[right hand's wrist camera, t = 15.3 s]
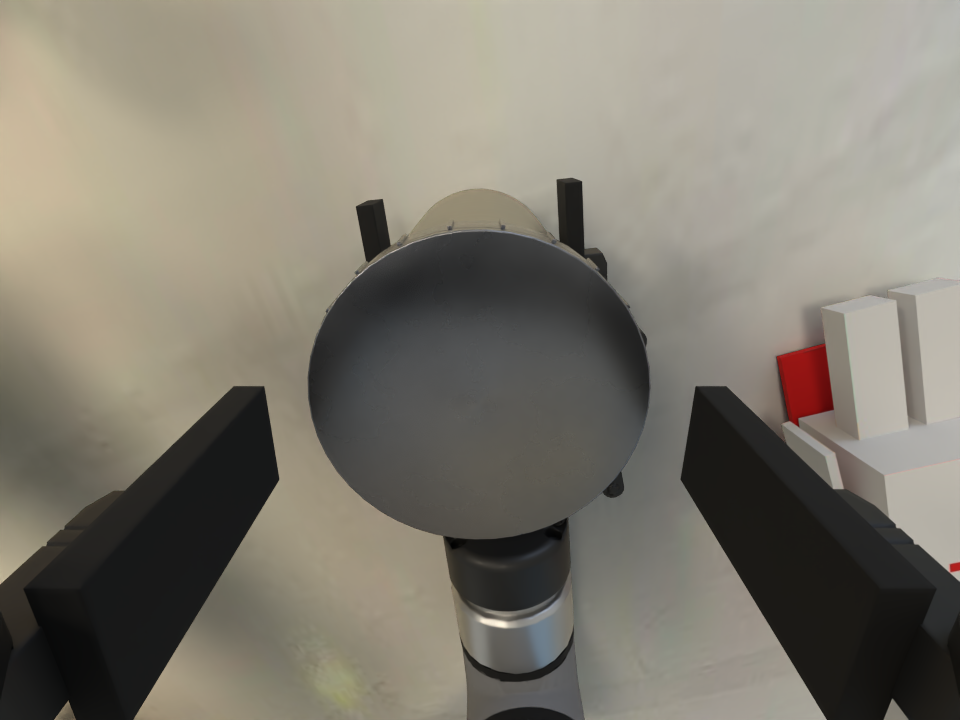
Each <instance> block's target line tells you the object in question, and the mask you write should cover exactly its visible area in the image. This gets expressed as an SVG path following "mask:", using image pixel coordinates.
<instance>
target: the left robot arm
mask: <svg viewBox="0 0 960 720" xmlns="http://www.w3.org/2000/svg"><path fill="white" fill-rule="evenodd" d="M557 197H558V217H559V237H560V242H562V243H563V244H565V245H567V246H569V247H570V248H571V249H573V250H574V251H575V252H577V253H578V254H579V255H581V256H582V257H583V258H585V259H587V258H589V259H590V260H591V261H592V262H593V263H594V264H595V265H596V266H597V267H598V268H599V269H600V270H599V271H598V272H599V273H600V274H601V275H602V276H603V277H604V278H605V279H606V281H607V262H606V260H605V258H604V256H603V253H602V252H601V251H599V250H598V249H597V248H590V249H584V226H583V196H582V181H580V180H577V179H574V178H566V179H557ZM356 210H357V215H358V220H359V226H360V231H361V236H362V242H363V247H364V252H365V258H366V261H367V262H368V263H369V262H370V261H372V260H373V259H374V258H375V257H376V256H377V255H378V254H380V253H381V252H382V251H384V250H385V249H387V248H389V247H390V246H391V245H390V239H389V233H388V227H387V221H386V215H385V209H384V203H383V199H378V200H369V201H366V202H364V203H362V204H360V205H358V206H356ZM639 330H640V328H639ZM640 333H641V336H642V339H643V341H644V344H645V347H646V344H647V338H646V336H645V334H644V333H643V332H642V331H641V330H640ZM623 490H624V484H623V479H622V473H621V471H620V473H619V474H618V476H617V477H616V478H615V479H614V480H613V481H612V483H611V484H610V485H609V486H608V487H607V488H606V489H605V490H604V491H603V493H604V495H606V496H607V497H610V498H614V497H617V496H619V495H621V494H622V492H623ZM387 516H388V515H387ZM443 538H444V544H445V550H446V556H447V562H448V568H449V574H450V579H451V582H452V587H451V588H452V593H453V599H454V605H455V610H456V616H457V621H458V627H459V634H460V639H461V643H462V647H463V655H464V663H465V671H466V680H467V720H585V718H584V713H583V707H582V702H581V696H580V691H579V685H578V677H577V668H576V657H575V647H574V636H573V635H574V625H573V624H574V612H573V597H572V581H571V571H570V563H571V561H570V543H569V525H568V517H567V518H565V519H563V520H561V521H559V522H557V523H554V524H552V525H550V526H547V527H544V528H542V529H539V530H536V531H533V532H529V533H525V534H521V535H517V536H512V537H504V538H497V539H463V538H452V537H447V536H443Z"/></svg>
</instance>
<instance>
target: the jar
mask: <svg viewBox="0 0 960 720" xmlns="http://www.w3.org/2000/svg"><path fill="white" fill-rule="evenodd" d="M452 219H453V220H454V222H460V221H480V220H486V221H496V222H499V220H500V219H504V222H506V223H511V224H515V225H519V226H523V227H528V228H531V229H533V230H536V231H538V232H541V233H544V234H547V231H546V230H545V229H544V227H543V226H542V225H541V223H540V222H539V221H538V220H537V218H536V217H535V216H534V214H533V213H532V212H531V211H530V210H529V209H528V208H527V207H526V206H525V205H523V204H522V203H521V202H519V201H518V200H516V199H515V198H513V197H511V196H509V195H507V194H504V193H502V192H498V191H494V190H488V189H470V190H465V191H461V192H457V193H454V194H452V195H450V196H448V197H446V198H444V199H442V200H441V201H439V202H438V203H436V204H435V205H434V206H433V207H432V208H431V209H429V211H428V212H427V213H426V214H425V215H424V216H423V218H422V219H421V220H420V221H419V223H418V224H417V225H416V226H415V228H414V229H413V230H412V232H411V233H410V234H409V235H408V236H410V235H412V234H414V233H417V232H419V231H422V230H425V229H428V228H431V227H435V226H438V225H442V224H448V223H449V220H452Z"/></svg>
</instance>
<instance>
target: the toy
mask: <svg viewBox="0 0 960 720" xmlns="http://www.w3.org/2000/svg"><path fill="white" fill-rule="evenodd" d="M887 294H888V299H887V298H882V297H877V296H871V295H868V296H864V297H860V298H856V299H852V300H848V301H844V302H840V303H836V304H833V305H829V306H825V307H821V314H822V321H823V329H824V337H825V344H821V345H817V346H814V347H810V348H806V349H803V350H799V351H795V352H791V353H788V354H784V355H780V356H777V360H778V366H779V371H780V376H781V381H782V386H783V391H784V396H785V402H786V407H787V412H788V417H789V421H788V422H785V423H783V424H781V425H782V429H783V433H784V436H785V440H786V444H787V445H788V446H789V447H790V448H791V449H792V450H793V451H794V452H795V453H796V454H797V455H798V456H799V457H800V458H801V459H802V460H803V461H804V462H806V463H807V464H808V465H809V466H810V467H811V468H812V469H813V470H814V471H815V472H816V473H817V474H818V475H819V476H820V477H821V478H822V479H823V480H824V481H825V482H826V483H827V484H828V485H829V486H831V487H832V488H833V489H847V490H849V491H851V492H852V493H854V494H856V495H858V496H859V497H861V498H863V499H865V500H866V501H868V502H870V503H872V504H873V505H875V506H876V507H877V508H878V509H879V510H881V511H882V512H883V513H884V514H885V515H886V516H887V517H888V518H889V519H891V520H892V521H893V522H894V523H895V524H896V528H901V529H902V530H903V531H904V532H905V533H906V534H907V535H908V536H909V537H911V538H912V539H913V540H914V544H918V545H919V546H921V547H922V548H923V549H924V550H925V551H926V552H927V553H928V554H930V555H931V556H932V557H933V558H934V559H935V560H936V561H937V562H938V563H940V564H941V565H942V566H943V567H944V568H945V569H946V570H947V571H948V572H950V573H951V574H952V575H953V576H954V577H955V578H956V579H957V580H958V581H960V281H959V280H951V279H943V278H934V279H930V280H926V281H923V282H919V283H915V284H911V285H907V286H903V287H899V288H895V289H891V290H887ZM884 720H908V718H907V717H906V716H905V714H904V713H903V712H902V710H901V709H900V708H899V706H898V705H897V704H896V702H895V701H894V700H893V698H892V700H891V703H890V705H889V708H888V710H887V713H886V715H885V718H884Z"/></svg>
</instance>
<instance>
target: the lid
mask: <svg viewBox="0 0 960 720" xmlns="http://www.w3.org/2000/svg"><path fill="white" fill-rule="evenodd" d="M599 270H600V269H599V268H598V267H597V266H596V265H595V264H594V263H593V262H592V261H591V260H590V259H589V258H587V259H585V258H583V257H582V256H581V255H579V254H578V253H577V252H575V251H574V250H573V249H571V248H570V247H569V246H567V245H565V244H563V243H562V242H560V241H558V240H556V239H555V238H554V237H553V235H552V234H551V233H549V232H547V234H544V233H541V232H538V231H536V230H533V229H531V228H528V227H523V226H519V225H515V224H511V223H506V222H504V219H500V220H499V222H496V221H486V220H480V221H460V222H454V220H453V219H452V220H449V223H448V224H442V225H438V226H435V227H431V228H428V229H425V230H422V231H419V232H417V233H414V234H412V235H410V236H408V237H407V235H406V234H405V235H403V236H402V237H401V238H400V239H399V241H398V242H396V243H395V244H393V245H392V246H390V247H389V248H387V249H385V250H384V251H382V252H381V253H380V254H378V255H377V256H376V257H375V258H374V259H373V260H372V261H370V262H369V263H368V262H367V261H366V262H365V263H364V264H363V265H362V266H361V267H360V268H359V269H358V270H357V271H356V272H355V274H356V276H355V277H354V278H353V279H352V280H351V282H350V283H349V284H348V285H347V286H346V287H345V289H344V290H343V291H342V292H341V293H340V294H339V296H338V297H337V298H336V300H335V301H334V302H333V303H332V304H331V305H330V306H329V307H328V308H327V310H326V312H327V314H326V315H325V317H324V319H323V322H322V324H321V326H320V328H319V331H318V333H317V335H316V338H315V341H314V345H313V349H312V352H311V356H310V363H309V371H308V399H309V405H310V411H311V417H312V420H313V423H314V427H315V430H316V433H317V436H318V438H319V441H320V443H321V445H322V447H323V449H324V451H325V453H326V455H327V457H328V458H329V460H330V461H331V463H332V464H333V466H334V467H335V469H336V470H337V472H338V473H339V474H340V475H341V476H342V478H343V479H344V480H345V481H346V482H347V484H348V485H349V486H350V487H351V488H352V489H353V490H354V491H355V492H357V493H358V494H359V495H360V496H361V497H362V498H363V499H364V500H366V501H367V502H368V503H370V504H371V505H372V506H374V507H375V508H377V509H378V510H379V511H381V512H383V513H384V514H386V515H388V516H390V517H392V518H393V519H395V520H397V521H399V522H402V523H404V524H406V525H409V526H411V527H413V528H416V529H419V530H422V531H426V532H429V533H432V534H436V535H442V536H447V537H452V538H463V539H497V538H504V537H512V536H517V535H521V534H525V533H529V532H533V531H536V530H539V529H542V528H544V527H547V526H550V525H552V524H554V523H557V522H559V521H561V520H563V519H565V518H567V517H569V516H571V515H572V514H574V513H575V512H577V511H578V510H580V509H581V508H583V507H585V506H586V505H587V504H589V503H590V502H591V501H592V500H593V499H595V498H596V497H597V496H598V495H600V494H601V493H602V492H603V491H604V490H605V489H606V488H607V487H608V486H609V485H610V484H611V483H612V481H613V480H614V479H615V478H616V477H617V476H618V474H619V473H620V471H621V470H622V469H623V467H624V466H625V465H626V463H627V462H628V460H629V458H630V456H631V455H632V453H633V451H634V449H635V448H636V446H637V443H638V441H639V438H640V436H641V433H642V430H643V428H644V424H645V420H646V416H647V412H648V408H649V397H650V368H649V362H648V357H647V352H646V347H645V344H644V341H643V339H642V336H641V333H640V330H639V327H638V325H637V323H636V321H635V320H634V318H633V316H632V314H631V312H630V310H629V308H630V306H629V304H628V303H627V302H626V301H625V300H624V299H623V298H622V297H621V296H620V295H619V294H618V293H617V292H616V290H615V289H614V288H613V287H612V286H611V285H610V284H609V283H608V282H607V281H606V279H605V278H604V277H603V276H602V275H601V274H600V273H599V272H598V271H599Z"/></svg>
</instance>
